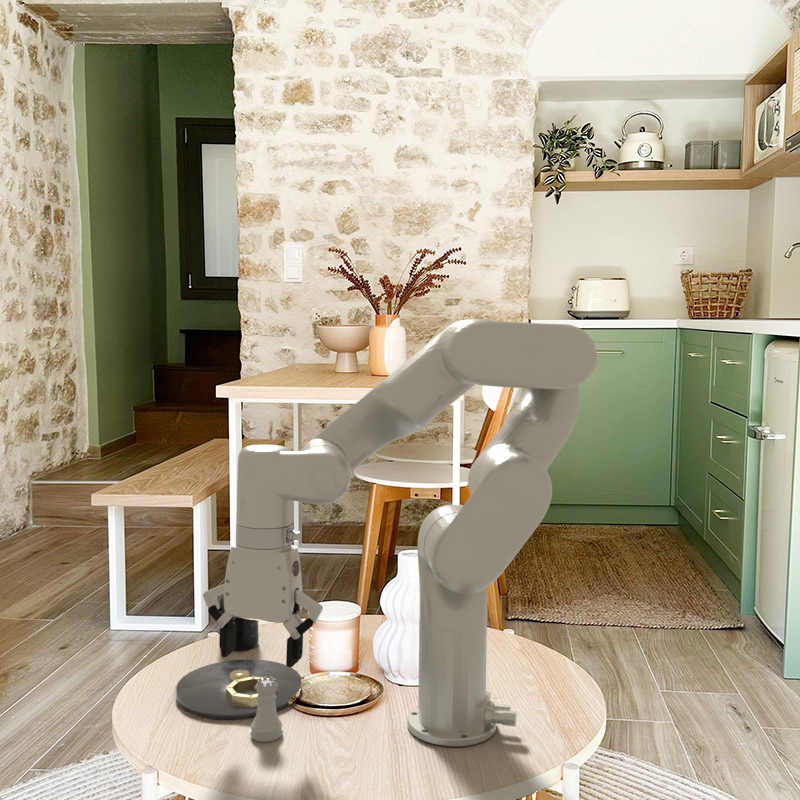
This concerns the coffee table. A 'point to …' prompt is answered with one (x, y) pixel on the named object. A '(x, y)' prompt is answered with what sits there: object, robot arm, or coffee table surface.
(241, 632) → the supplement bottle
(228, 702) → the carrier plate
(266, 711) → the rook chess piece
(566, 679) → the coffee table surface
